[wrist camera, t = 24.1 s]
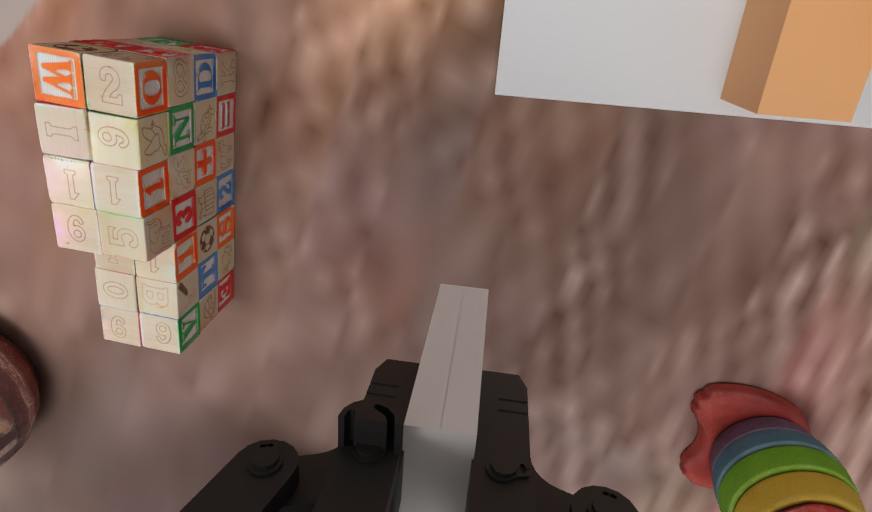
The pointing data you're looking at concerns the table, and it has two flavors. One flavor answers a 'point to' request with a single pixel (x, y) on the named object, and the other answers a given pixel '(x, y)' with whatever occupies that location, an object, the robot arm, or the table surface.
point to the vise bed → (630, 55)
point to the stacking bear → (763, 455)
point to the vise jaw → (801, 58)
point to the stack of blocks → (143, 177)
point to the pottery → (16, 399)
